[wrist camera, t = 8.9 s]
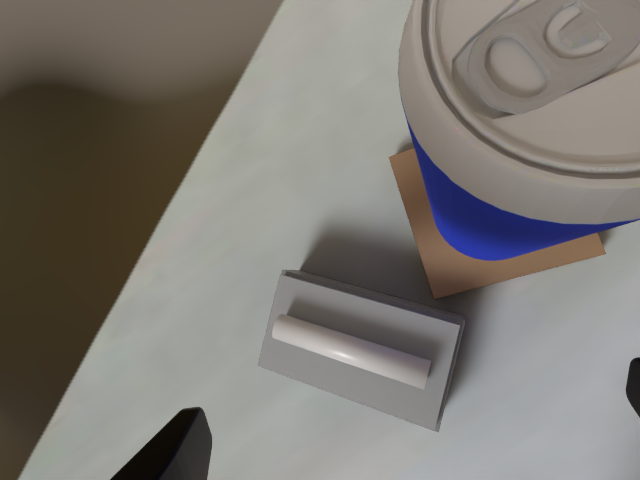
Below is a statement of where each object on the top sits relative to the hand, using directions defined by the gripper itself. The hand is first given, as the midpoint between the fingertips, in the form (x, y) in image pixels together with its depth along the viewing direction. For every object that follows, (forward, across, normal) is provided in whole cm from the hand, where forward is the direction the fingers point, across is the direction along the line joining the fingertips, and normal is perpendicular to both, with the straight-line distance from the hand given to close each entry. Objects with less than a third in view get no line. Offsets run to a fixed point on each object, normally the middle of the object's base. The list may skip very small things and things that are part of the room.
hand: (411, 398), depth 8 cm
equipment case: (+11, 0, +6) cm, 13 cm away
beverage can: (+12, -6, 0) cm, 13 cm away
